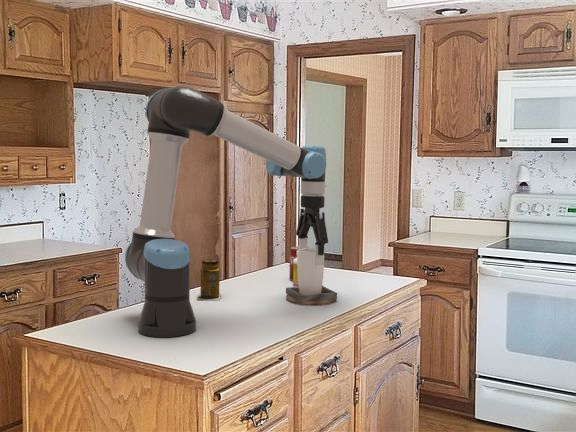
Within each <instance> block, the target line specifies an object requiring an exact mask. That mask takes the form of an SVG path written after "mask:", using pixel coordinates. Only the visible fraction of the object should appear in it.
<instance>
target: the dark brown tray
mask: <svg viewBox="0 0 576 432" xmlns="http://www.w3.org/2000/svg"><path fill="white" fill-rule="evenodd" d="M285 294H286V295H285V300H286V301H287V302H288V303H290V304H294V305H301V306H325V305H326V306H327V305H331V304H333V303H335V302H336V301H337V300H338V292H336V291H334V290H332V289H330V288H328V287H326V286H323V285H322V290H321V294H307V295H301V294H300V293H299V287H293V286H291V287H285Z"/></svg>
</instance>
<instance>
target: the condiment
mask: <svg viewBox="0 0 576 432" xmlns="http://www.w3.org/2000/svg"><path fill="white" fill-rule="evenodd" d="M219 297H220V298H219ZM221 298H222V293H220V268H219V260H217V259H210V258H209V259H207V258H206V259H203V260H201V268H200V293H199V294H198V296H197V298H196V301H198V300H199V301H221Z"/></svg>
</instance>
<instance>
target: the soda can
mask: <svg viewBox="0 0 576 432" xmlns="http://www.w3.org/2000/svg"><path fill="white" fill-rule="evenodd" d="M307 248H309V247H308V246H307ZM298 250H299V245H298V246H291V247H290V248H289V271H288V272H289V273H288V274H289V277H288V278H289V281H291V282H293V261H294V259H295V258H297V255H296V252H297V251H298Z"/></svg>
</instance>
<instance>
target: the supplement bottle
mask: <svg viewBox="0 0 576 432" xmlns="http://www.w3.org/2000/svg"><path fill="white" fill-rule="evenodd" d="M296 255H297V252H296ZM292 287H299V286H298V272H297V258H295V259H294V261H293V281H292Z"/></svg>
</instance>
